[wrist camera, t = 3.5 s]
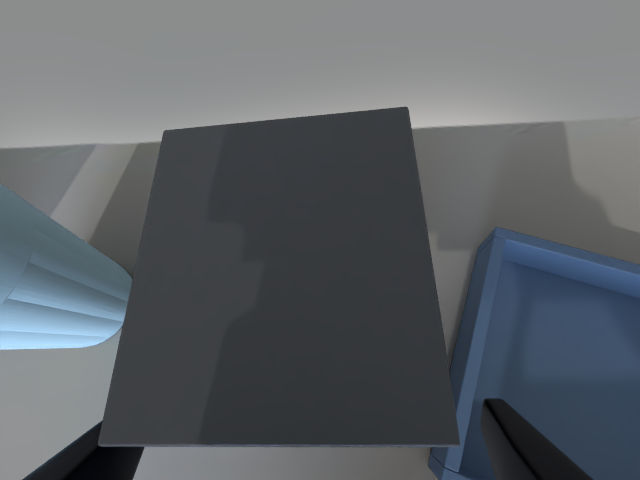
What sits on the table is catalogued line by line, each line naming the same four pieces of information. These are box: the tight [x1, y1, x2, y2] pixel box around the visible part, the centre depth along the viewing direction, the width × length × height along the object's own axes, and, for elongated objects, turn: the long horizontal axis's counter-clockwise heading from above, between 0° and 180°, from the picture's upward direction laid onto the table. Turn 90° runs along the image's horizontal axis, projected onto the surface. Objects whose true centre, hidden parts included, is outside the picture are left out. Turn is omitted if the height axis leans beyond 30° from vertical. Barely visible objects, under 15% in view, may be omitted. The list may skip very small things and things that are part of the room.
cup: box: [0, 183, 132, 349], centre depth 17 cm, size 8×8×10 cm
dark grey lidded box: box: [98, 107, 460, 447], centre depth 13 cm, size 7×6×14 cm
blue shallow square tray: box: [428, 227, 640, 480], centre depth 16 cm, size 12×12×3 cm
